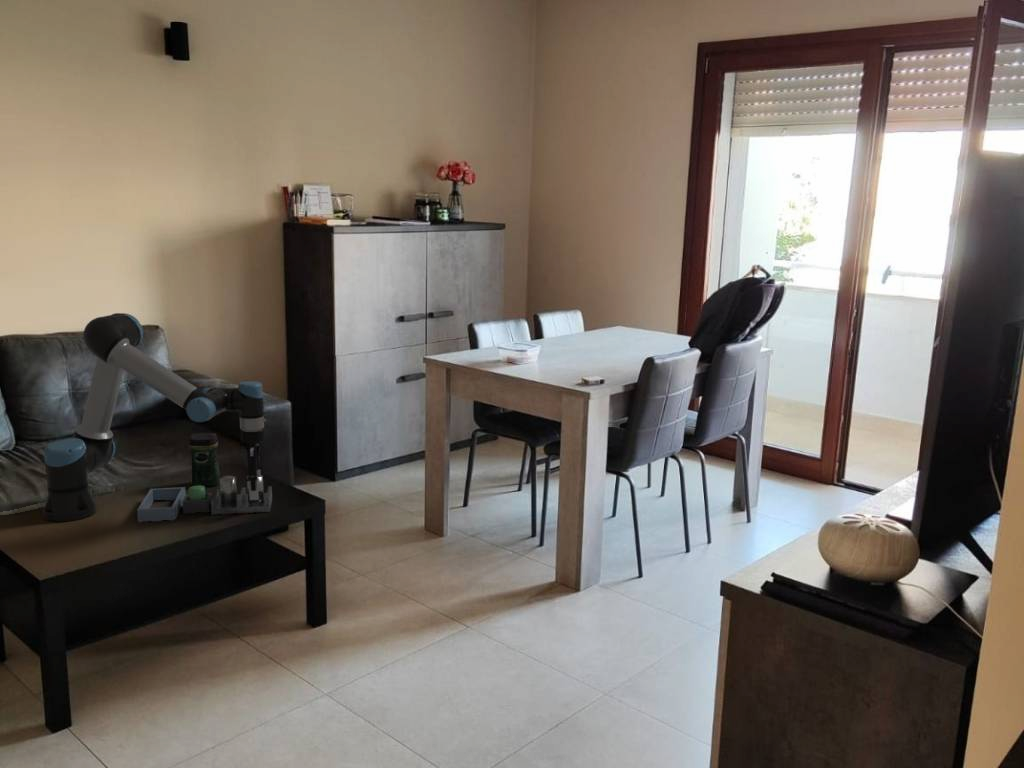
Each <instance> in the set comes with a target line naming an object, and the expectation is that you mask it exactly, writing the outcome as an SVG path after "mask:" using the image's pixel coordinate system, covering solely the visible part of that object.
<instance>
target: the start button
mask: <svg viewBox="0 0 1024 768" xmlns="http://www.w3.org/2000/svg"><path fill="white" fill-rule="evenodd" d="M205 493H206V486H193V485H192V486H190V487H188V494H189V500H206V497H205Z"/></svg>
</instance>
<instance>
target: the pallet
mask: <svg viewBox="0 0 1024 768" xmlns="http://www.w3.org/2000/svg"><path fill="white" fill-rule="evenodd" d="M246 492H247V491H246V487H241V490H240V493H239V494H237V502H235V503H231V504H223V503H221V494H220V488H215V490H214V492H213V494H212V499H211V509H210V512H211V516H218V515H217V514H221V515H234V514H233V513H238V514H255V513H254V512H256V513H268V512H269V513H270V512H271V507H272V502H273V488H272V486H271V485H269V486H267V491H266V492H264V500H263V501H260V502H249V501H248V493H246ZM230 513H231V514H230ZM214 514H215V515H214Z"/></svg>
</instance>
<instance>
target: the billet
mask: <svg viewBox="0 0 1024 768" xmlns="http://www.w3.org/2000/svg"><path fill="white" fill-rule="evenodd" d="M251 477H254V476H251ZM246 479H248V475H247V476H246ZM257 480H258V497H259V499H258V500H250V495H249V481H247V480H246V484H247V487H246V489H247V494H248V501H249V502H260V501H263V500H264V493H265V492H264V477H263V475H262V474H260V475H259V474H257Z"/></svg>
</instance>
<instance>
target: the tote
mask: <svg viewBox="0 0 1024 768" xmlns="http://www.w3.org/2000/svg"><path fill="white" fill-rule="evenodd" d="M186 494H187V493H186V487H185V486H184V487H183V486H181V487H163V488H162V487H161V488H150V489H149V490H148V492H147V494H146V495H145V497H144V498H143V500H142V501H141V503H140V505H139V506H138V508H137V509H136V512H137V513H136V514H137V515H136V516H137V523H148V522H147V521H152V522H163V521H162V520H169V521H175V519H177V518H176V517H178V516H177V515H179V513H180V511H181V509H182V508H183V500H184V498H185V496H186ZM172 499H176V500H174V502H173V504H172V505H171V506H168V507H152V505H153V504H152V503H154V502H155V501H154V500H166V501H173V500H172ZM153 501H154V502H153ZM150 506H151V507H150ZM143 521H145V522H143Z"/></svg>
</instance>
